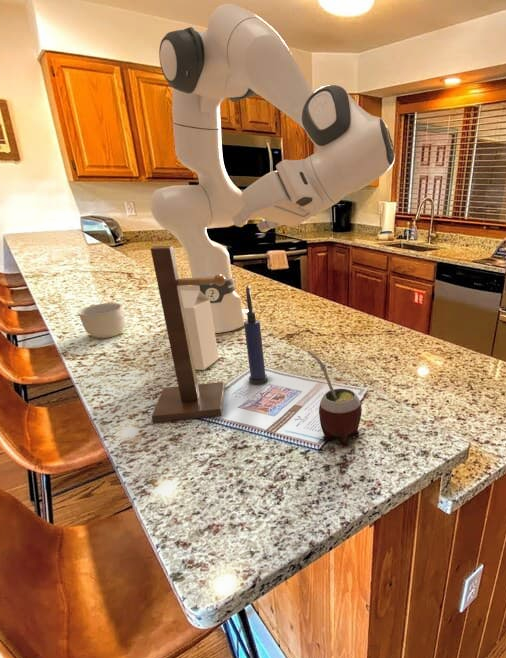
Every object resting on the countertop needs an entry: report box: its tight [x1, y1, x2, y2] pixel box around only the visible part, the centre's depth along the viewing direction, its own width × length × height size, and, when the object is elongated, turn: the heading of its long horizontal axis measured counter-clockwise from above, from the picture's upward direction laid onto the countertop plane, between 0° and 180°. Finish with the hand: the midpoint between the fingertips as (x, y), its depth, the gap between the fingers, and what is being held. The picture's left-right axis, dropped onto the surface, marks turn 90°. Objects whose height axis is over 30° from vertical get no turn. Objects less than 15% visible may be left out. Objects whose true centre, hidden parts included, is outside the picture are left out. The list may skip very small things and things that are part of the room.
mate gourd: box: [307, 349, 363, 448], centre depth 70 cm, size 8×8×15 cm
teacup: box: [77, 302, 126, 339], centre depth 122 cm, size 14×11×8 cm
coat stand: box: [150, 245, 226, 424], centre depth 78 cm, size 12×16×30 cm
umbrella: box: [243, 285, 269, 386], centre depth 89 cm, size 6×4×21 cm, turn 13°
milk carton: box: [180, 285, 219, 371], centre depth 98 cm, size 7×7×19 cm
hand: (248, 225), depth 80 cm, fingers open, 8 cm apart
